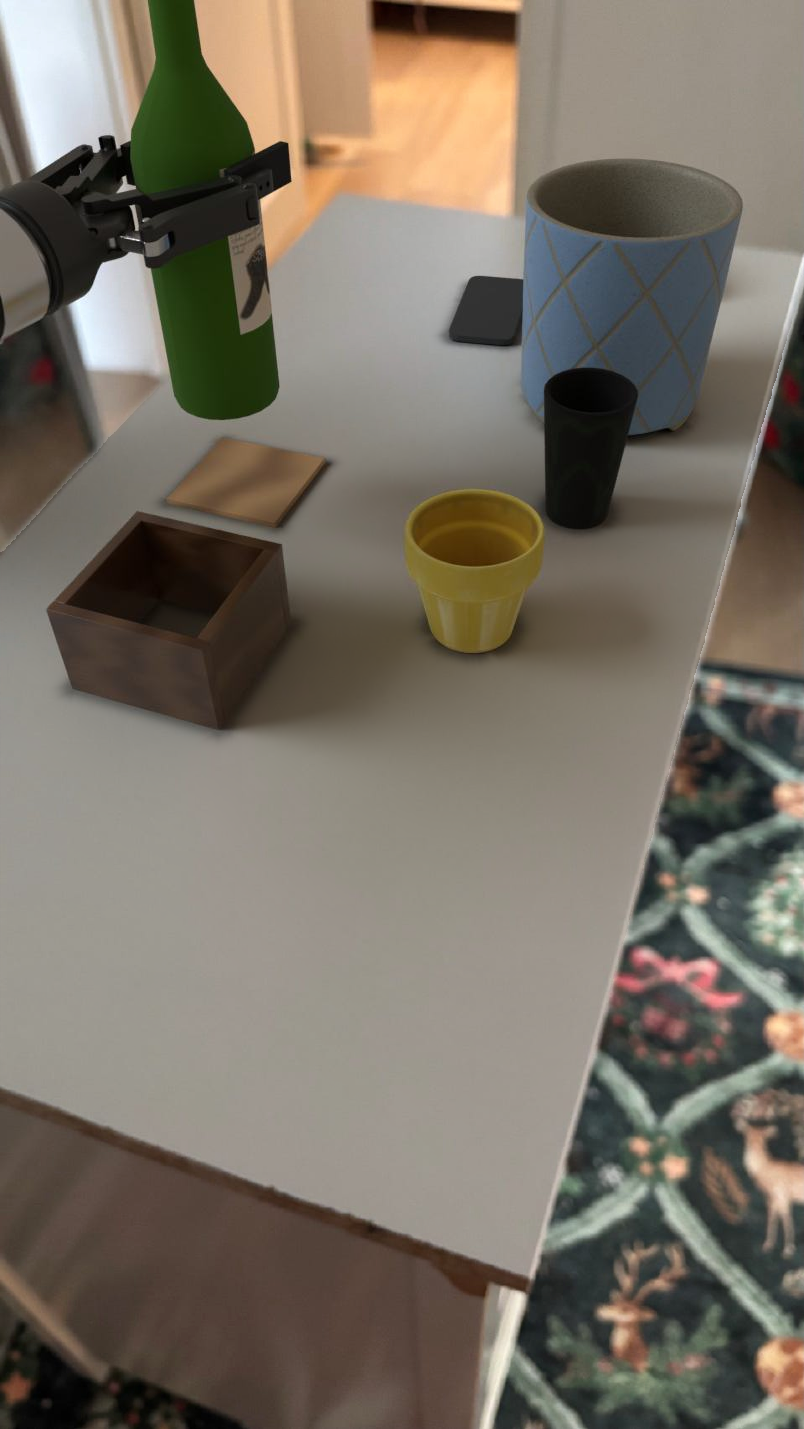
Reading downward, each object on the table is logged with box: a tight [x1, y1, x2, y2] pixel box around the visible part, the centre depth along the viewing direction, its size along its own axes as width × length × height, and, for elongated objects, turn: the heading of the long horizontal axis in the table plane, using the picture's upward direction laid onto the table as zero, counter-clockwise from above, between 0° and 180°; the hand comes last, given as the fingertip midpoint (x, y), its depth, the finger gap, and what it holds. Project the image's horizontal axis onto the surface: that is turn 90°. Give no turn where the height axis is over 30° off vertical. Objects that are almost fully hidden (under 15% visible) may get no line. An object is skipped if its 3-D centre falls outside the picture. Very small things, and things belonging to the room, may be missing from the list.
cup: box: [543, 368, 638, 530], centre depth 93 cm, size 8×8×12 cm
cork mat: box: [166, 437, 326, 528], centre depth 101 cm, size 11×11×1 cm
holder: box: [45, 510, 292, 731], centre depth 82 cm, size 13×13×8 cm
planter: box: [520, 158, 744, 436], centre depth 103 cm, size 19×19×20 cm
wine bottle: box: [130, 0, 281, 421], centre depth 80 cm, size 9×9×32 cm
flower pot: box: [404, 488, 546, 654], centre depth 83 cm, size 10×10×10 cm
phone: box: [448, 275, 523, 346], centre depth 124 cm, size 7×1×15 cm
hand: (234, 150), depth 81 cm, fingers closed on wine bottle, 9 cm apart
